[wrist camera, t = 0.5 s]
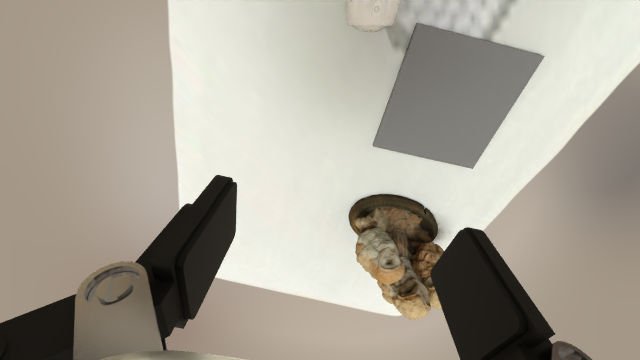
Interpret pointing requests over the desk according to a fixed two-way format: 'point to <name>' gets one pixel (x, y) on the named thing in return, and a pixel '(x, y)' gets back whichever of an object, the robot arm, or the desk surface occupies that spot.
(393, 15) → the photo printer
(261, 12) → the desk surface
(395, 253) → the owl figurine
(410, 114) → the mat
